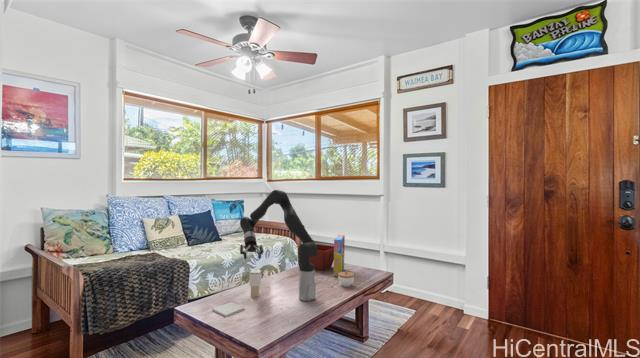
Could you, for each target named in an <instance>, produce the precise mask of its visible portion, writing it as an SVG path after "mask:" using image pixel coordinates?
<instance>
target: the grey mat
mask: <svg viewBox="0 0 640 358" xmlns="http://www.w3.org/2000/svg"><path fill="white" fill-rule="evenodd" d="M244 310H245V307H244V306H242V305H239V304H237V303H235V302H233V301H230V302H228V303H224V304H221V305H219V306H215V307H214V308H212V309H211V311H212V312H215V313H217V314H218V315H221V316H223V317H225V318H226V317H227V318H228V317H229V316H232V315H234V314H236V313H239V312H242V311H244Z"/></svg>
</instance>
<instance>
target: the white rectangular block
mask: <svg viewBox="0 0 640 358" xmlns="http://www.w3.org/2000/svg"><path fill="white" fill-rule="evenodd" d="M261 281H262V269H251V270H249V281H248V282H249V285H248V286H249V287H251V286H259V287H260V286H261V285H262V284H261V283H262V282H261Z"/></svg>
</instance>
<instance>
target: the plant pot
mask: <svg viewBox="0 0 640 358" xmlns="http://www.w3.org/2000/svg"><path fill="white" fill-rule="evenodd" d="M315 244H316V243H315ZM316 246H317V248H318V254H317V256H315V257H312V258H309V262H310V263H312V264H314V266H315V270H316V269H317V271H322V272H324V271H327V270H329V269H331V268H332V266H333V265H334V245H326V244H322V243H321V244H319V243H317V244H316Z"/></svg>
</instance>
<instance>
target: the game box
mask: <svg viewBox="0 0 640 358" xmlns="http://www.w3.org/2000/svg"><path fill="white" fill-rule="evenodd" d="M345 239H346V235H344V234H343V235H341V234H338V235H337V236H336V237H335V238H334V240H333V246H334V261H333V275H332V276H333V277H338V273H340V272H344V271H345V243H346V242H345V241H346V240H345Z"/></svg>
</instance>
